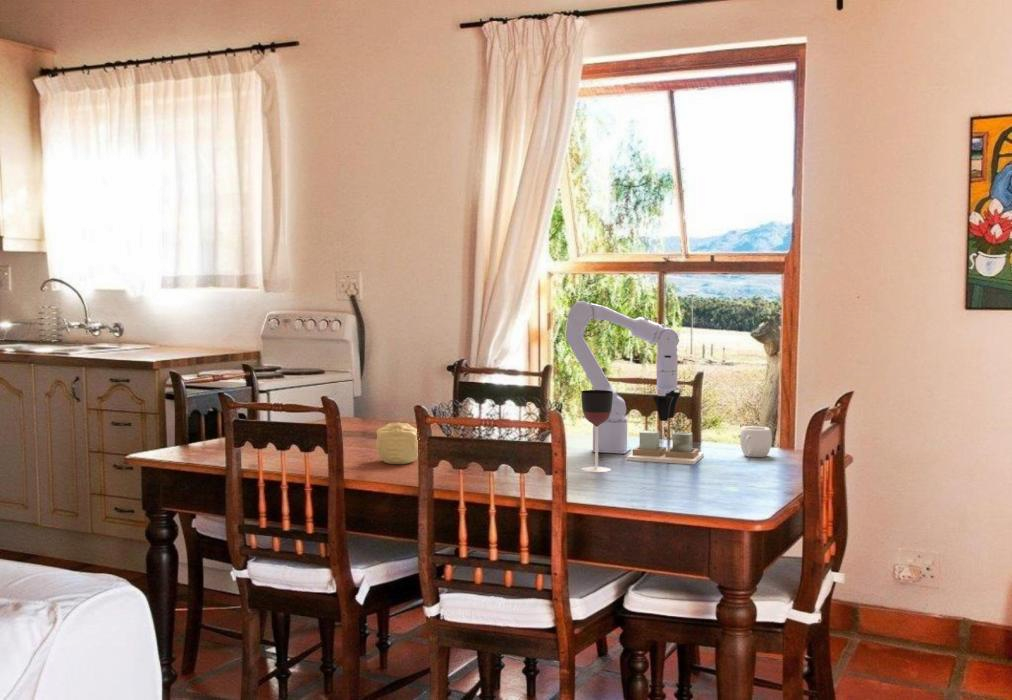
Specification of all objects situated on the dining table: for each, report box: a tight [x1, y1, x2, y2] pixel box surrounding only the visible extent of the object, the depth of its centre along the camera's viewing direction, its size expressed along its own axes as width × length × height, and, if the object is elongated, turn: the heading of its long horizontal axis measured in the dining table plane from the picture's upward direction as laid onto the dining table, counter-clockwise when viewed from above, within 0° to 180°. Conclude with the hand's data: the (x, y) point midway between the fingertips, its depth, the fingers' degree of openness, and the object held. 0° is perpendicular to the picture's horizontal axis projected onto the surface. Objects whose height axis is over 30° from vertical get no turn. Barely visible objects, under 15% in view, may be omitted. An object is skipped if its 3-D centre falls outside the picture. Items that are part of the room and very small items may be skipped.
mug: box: [739, 425, 773, 458], centre depth 286 cm, size 12×8×8 cm
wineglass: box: [580, 389, 613, 473], centre depth 267 cm, size 8×9×20 cm
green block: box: [671, 431, 693, 452], centre depth 282 cm, size 4×4×6 cm
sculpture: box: [375, 421, 419, 465], centre depth 277 cm, size 12×12×11 cm
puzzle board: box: [626, 430, 704, 465], centre depth 284 cm, size 18×14×7 cm
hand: (666, 419), depth 293 cm, fingers open, 7 cm apart
